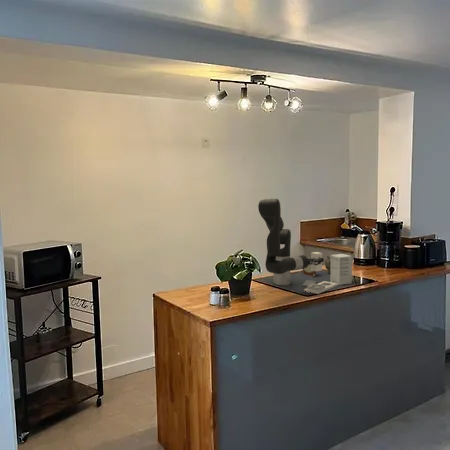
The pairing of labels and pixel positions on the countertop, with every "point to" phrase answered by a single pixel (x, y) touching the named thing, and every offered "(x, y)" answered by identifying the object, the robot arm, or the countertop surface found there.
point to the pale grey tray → (320, 287)
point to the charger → (316, 255)
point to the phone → (308, 283)
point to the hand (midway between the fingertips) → (319, 259)
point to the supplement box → (341, 269)
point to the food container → (309, 271)
